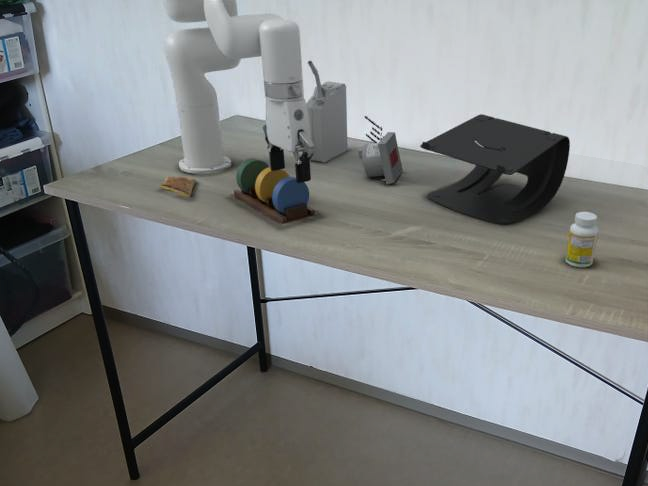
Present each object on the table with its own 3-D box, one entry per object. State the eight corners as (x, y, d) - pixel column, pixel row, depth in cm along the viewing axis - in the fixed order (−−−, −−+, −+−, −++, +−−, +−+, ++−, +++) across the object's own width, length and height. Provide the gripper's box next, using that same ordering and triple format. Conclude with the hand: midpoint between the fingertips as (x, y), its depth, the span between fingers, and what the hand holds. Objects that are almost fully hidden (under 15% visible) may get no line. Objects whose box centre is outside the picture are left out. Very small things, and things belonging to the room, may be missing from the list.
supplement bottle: (584, 270, 142) (591, 223, 137) (559, 262, 145) (566, 215, 140) (597, 261, 145) (605, 215, 140) (573, 253, 148) (580, 208, 143)
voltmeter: (414, 182, 180) (415, 142, 174) (370, 188, 176) (369, 146, 170) (375, 150, 200) (375, 112, 195) (335, 154, 196) (333, 116, 191)
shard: (191, 200, 166) (190, 193, 165) (155, 201, 165) (154, 193, 165) (196, 183, 175) (195, 176, 174) (163, 184, 174) (162, 177, 173)
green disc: (238, 196, 167) (234, 161, 163) (269, 189, 172) (266, 154, 167) (242, 199, 166) (238, 164, 161) (273, 191, 170) (270, 157, 166)
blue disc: (273, 217, 158) (270, 180, 153) (305, 208, 162) (303, 173, 158) (278, 220, 156) (275, 183, 152) (310, 211, 161) (308, 175, 157)
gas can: (318, 166, 188) (313, 62, 174) (301, 163, 190) (295, 59, 176) (348, 150, 200) (346, 51, 186) (332, 147, 201) (329, 48, 188)
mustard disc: (255, 205, 162) (254, 168, 158) (286, 200, 167) (286, 164, 163) (259, 207, 161) (259, 171, 157) (291, 202, 166) (291, 167, 162)
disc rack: (229, 198, 168) (227, 184, 167) (267, 188, 174) (266, 175, 172) (280, 228, 155) (279, 213, 153) (320, 217, 160) (319, 203, 159)
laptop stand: (566, 201, 172) (576, 134, 164) (504, 229, 157) (511, 157, 149) (480, 174, 186) (485, 111, 178) (415, 197, 172) (417, 130, 163)
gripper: (325, 95, 142) (329, 182, 151) (276, 79, 153) (283, 161, 162) (291, 101, 138) (298, 190, 147) (244, 84, 149) (253, 168, 158)
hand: (290, 175), depth 154 cm, fingers open, 9 cm apart
